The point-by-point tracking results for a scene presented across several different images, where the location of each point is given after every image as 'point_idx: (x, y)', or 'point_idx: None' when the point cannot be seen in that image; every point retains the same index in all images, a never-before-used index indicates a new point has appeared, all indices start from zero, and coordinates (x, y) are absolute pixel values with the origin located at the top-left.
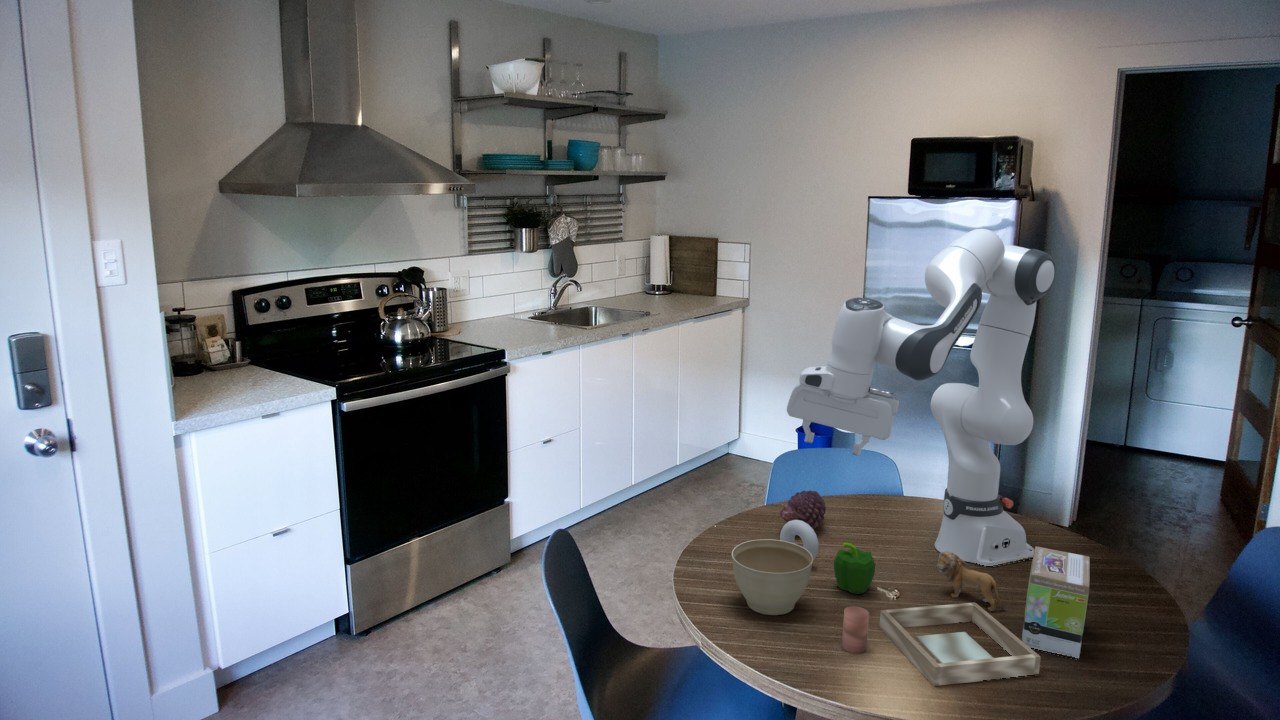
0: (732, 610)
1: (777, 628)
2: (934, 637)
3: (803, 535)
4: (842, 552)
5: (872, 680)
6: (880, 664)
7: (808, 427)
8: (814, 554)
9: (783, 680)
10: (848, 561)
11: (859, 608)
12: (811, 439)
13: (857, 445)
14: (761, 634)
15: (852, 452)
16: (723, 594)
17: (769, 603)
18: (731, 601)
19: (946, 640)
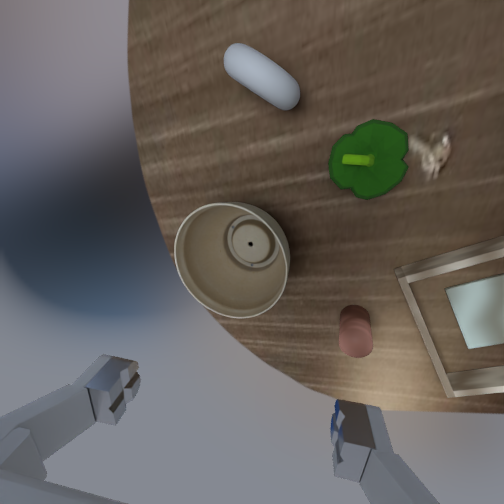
0: None
1: None
2: (474, 289)
3: (265, 98)
4: (342, 157)
5: (369, 371)
6: (382, 346)
7: (53, 420)
8: (295, 105)
9: (284, 373)
10: (353, 186)
11: (360, 335)
12: (125, 404)
13: (359, 461)
14: None
15: (331, 437)
16: None
17: (250, 284)
18: None
19: (492, 294)
